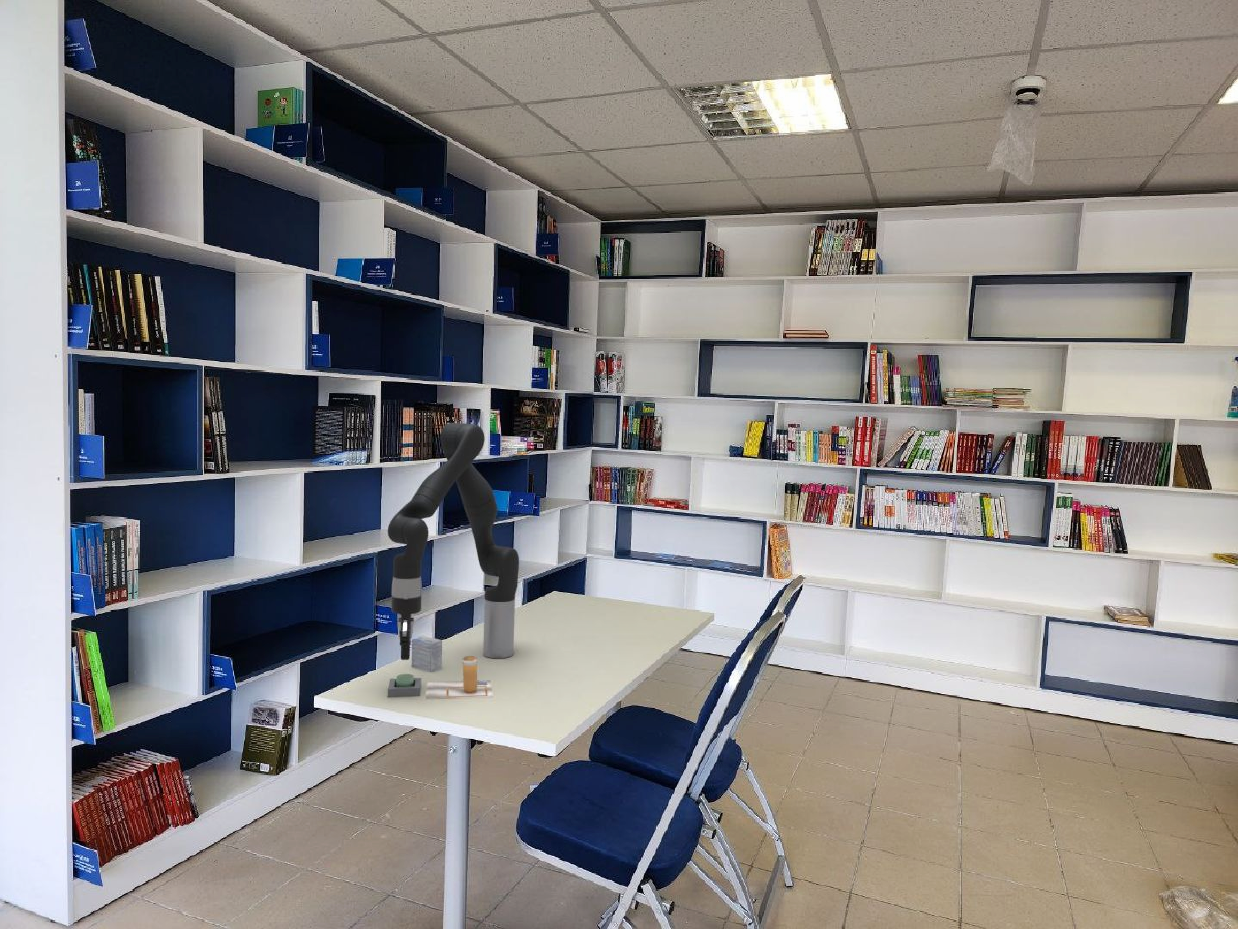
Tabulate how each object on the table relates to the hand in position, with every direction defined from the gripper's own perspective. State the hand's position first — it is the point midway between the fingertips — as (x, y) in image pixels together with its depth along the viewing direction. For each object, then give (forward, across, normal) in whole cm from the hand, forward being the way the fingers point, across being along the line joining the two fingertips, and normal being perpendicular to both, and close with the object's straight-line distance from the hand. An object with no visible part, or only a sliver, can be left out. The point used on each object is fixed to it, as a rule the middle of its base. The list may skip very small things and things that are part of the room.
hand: (405, 659), depth 210 cm
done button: (+7, 0, 0) cm, 7 cm away
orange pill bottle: (+8, +2, +17) cm, 19 cm away
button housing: (+9, 0, 0) cm, 9 cm away
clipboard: (+9, 0, +14) cm, 17 cm away
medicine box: (+9, -19, +5) cm, 22 cm away
